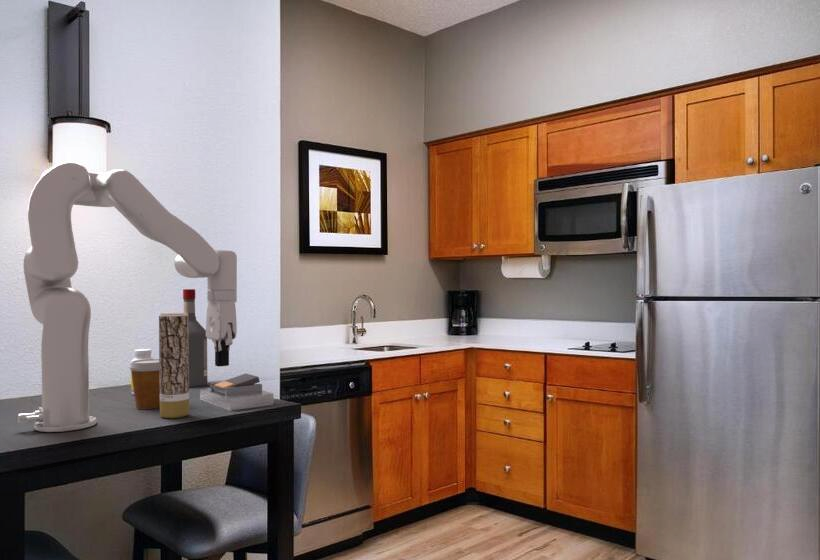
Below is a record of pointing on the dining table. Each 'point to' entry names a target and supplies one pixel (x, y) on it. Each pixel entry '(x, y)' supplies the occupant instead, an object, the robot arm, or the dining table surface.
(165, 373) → the paper tube
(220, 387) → the breaker rocker
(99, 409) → the dining table surface
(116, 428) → the dining table surface
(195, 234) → the robot arm
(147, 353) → the supplement bottle
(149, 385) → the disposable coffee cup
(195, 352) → the liquor
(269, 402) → the breaker panel
